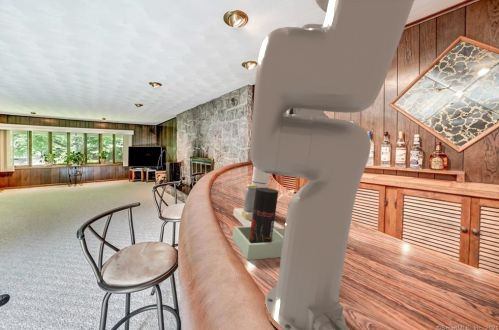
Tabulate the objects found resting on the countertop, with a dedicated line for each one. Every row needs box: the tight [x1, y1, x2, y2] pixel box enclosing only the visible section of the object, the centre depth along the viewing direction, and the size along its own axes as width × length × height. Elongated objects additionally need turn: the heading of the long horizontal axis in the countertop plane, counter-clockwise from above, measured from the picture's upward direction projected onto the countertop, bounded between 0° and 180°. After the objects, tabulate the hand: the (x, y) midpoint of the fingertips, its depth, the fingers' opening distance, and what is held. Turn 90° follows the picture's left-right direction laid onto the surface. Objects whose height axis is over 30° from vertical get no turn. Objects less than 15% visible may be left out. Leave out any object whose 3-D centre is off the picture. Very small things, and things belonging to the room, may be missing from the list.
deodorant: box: [249, 187, 279, 243], centre depth 57 cm, size 6×6×15 cm
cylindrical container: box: [251, 166, 271, 188], centre depth 91 cm, size 7×7×25 cm
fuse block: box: [232, 183, 285, 236], centre depth 75 cm, size 21×10×12 cm, turn 22°
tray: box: [231, 225, 284, 261], centre depth 58 cm, size 12×12×4 cm
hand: (301, 140), depth 67 cm, fingers open, 9 cm apart
